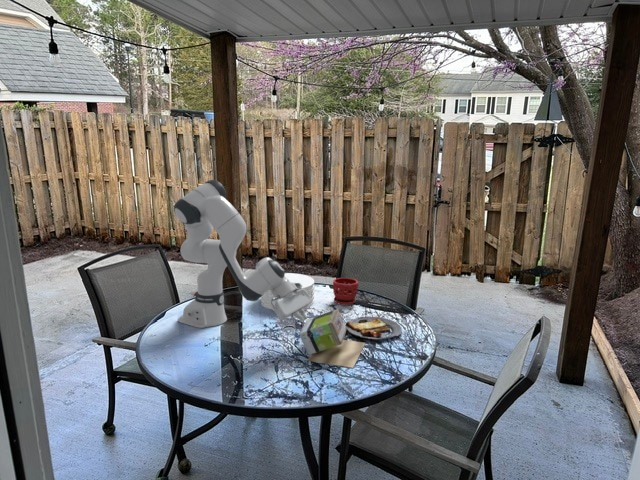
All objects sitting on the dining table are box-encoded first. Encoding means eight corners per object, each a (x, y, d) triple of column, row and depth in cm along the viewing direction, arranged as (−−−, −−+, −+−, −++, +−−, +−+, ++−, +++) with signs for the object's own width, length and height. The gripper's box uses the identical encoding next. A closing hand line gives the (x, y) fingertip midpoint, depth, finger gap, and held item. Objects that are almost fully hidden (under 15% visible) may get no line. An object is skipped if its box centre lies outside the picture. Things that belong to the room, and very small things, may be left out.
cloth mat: (307, 360, 169) (307, 360, 169) (324, 337, 190) (324, 336, 190) (352, 368, 164) (352, 367, 164) (365, 343, 184) (365, 342, 184)
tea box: (308, 356, 173) (342, 344, 169) (298, 333, 172) (331, 321, 168) (316, 339, 188) (348, 328, 184) (306, 319, 187) (338, 307, 183)
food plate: (360, 346, 182) (361, 338, 181) (336, 325, 203) (336, 318, 202) (411, 337, 192) (411, 330, 191) (383, 319, 213) (383, 312, 212)
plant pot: (358, 306, 226) (359, 284, 223) (332, 306, 226) (333, 284, 224) (356, 298, 239) (357, 277, 236) (332, 297, 239) (332, 276, 236)
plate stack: (319, 295, 243) (319, 275, 241) (306, 313, 216) (306, 291, 214) (271, 291, 249) (271, 271, 247) (253, 308, 223) (252, 286, 220)
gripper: (273, 295, 169) (294, 324, 166) (302, 282, 186) (322, 308, 183) (264, 304, 172) (284, 333, 169) (294, 290, 189) (313, 316, 186)
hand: (304, 320), depth 176 cm, fingers closed
